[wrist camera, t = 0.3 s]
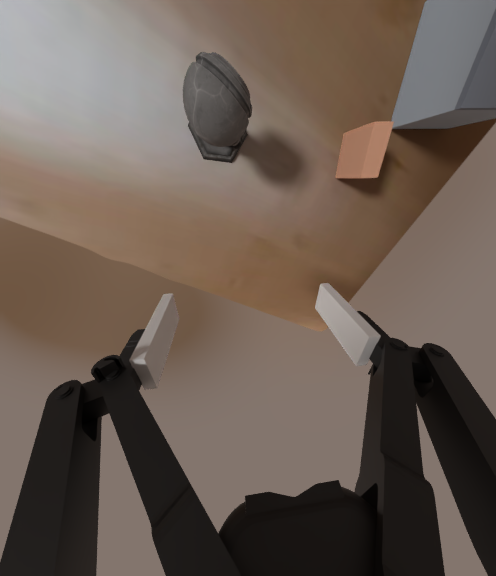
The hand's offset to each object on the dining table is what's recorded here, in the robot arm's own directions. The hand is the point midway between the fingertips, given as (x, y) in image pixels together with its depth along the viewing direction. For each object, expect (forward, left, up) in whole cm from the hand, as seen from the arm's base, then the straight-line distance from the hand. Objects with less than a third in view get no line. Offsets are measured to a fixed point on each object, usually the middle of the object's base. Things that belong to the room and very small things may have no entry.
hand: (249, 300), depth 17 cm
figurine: (-17, -2, -27) cm, 32 cm away
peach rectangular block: (-13, +22, -27) cm, 37 cm away
